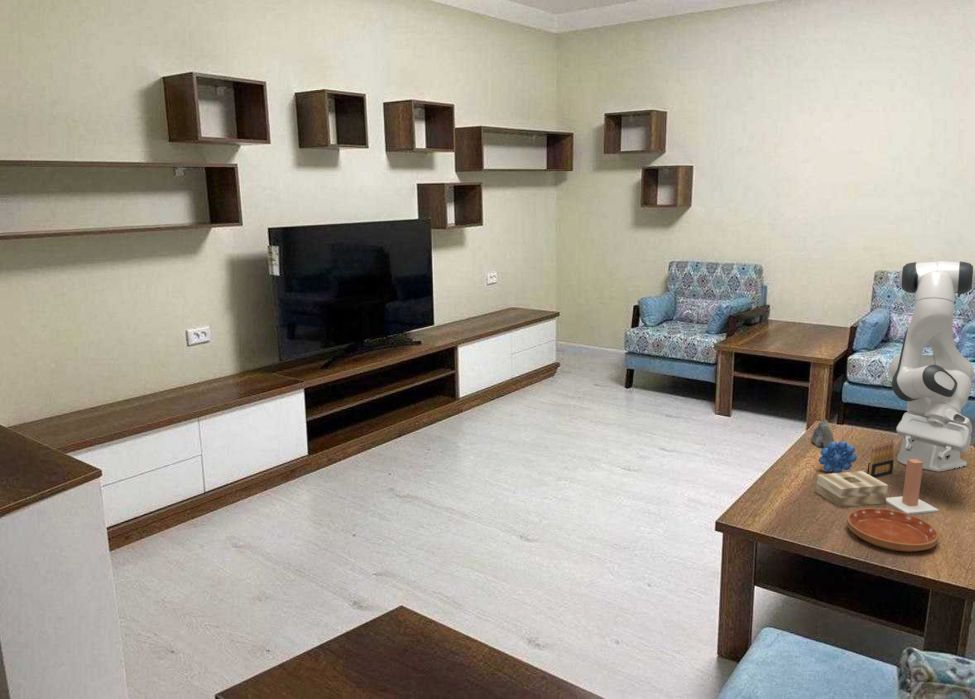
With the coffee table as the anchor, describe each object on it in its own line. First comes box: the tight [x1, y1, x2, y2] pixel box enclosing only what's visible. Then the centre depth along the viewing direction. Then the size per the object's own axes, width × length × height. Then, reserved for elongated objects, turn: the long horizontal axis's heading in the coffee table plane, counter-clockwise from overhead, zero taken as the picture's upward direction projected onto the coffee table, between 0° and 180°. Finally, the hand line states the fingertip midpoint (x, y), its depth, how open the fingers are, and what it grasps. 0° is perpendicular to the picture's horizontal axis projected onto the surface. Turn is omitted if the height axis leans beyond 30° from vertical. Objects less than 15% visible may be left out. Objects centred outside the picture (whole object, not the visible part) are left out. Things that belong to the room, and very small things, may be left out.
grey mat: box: [885, 495, 940, 515], centre depth 234 cm, size 11×11×1 cm
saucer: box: [846, 507, 940, 553], centre depth 214 cm, size 23×23×4 cm
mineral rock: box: [811, 419, 835, 449], centre depth 289 cm, size 13×11×10 cm
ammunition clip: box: [866, 439, 895, 479], centre depth 258 cm, size 11×2×12 cm, turn 116°
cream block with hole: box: [815, 470, 889, 508], centre depth 240 cm, size 17×12×6 cm
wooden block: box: [902, 459, 923, 506], centre depth 233 cm, size 3×3×14 cm
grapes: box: [818, 440, 858, 473], centre depth 260 cm, size 12×7×12 cm, turn 63°
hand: (923, 454), depth 235 cm, fingers open, 8 cm apart
